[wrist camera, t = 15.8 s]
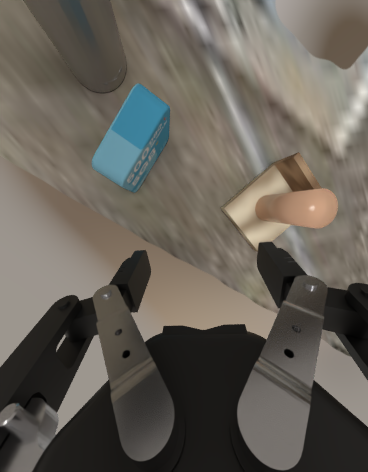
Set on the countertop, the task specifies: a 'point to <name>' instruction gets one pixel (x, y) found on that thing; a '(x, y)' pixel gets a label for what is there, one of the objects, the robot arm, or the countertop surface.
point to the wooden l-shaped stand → (268, 182)
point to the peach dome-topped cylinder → (299, 208)
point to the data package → (134, 139)
